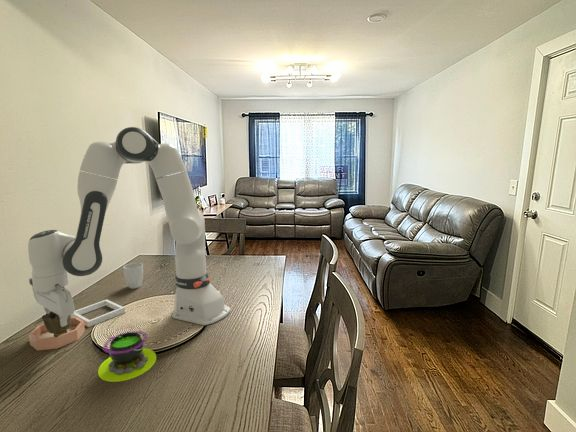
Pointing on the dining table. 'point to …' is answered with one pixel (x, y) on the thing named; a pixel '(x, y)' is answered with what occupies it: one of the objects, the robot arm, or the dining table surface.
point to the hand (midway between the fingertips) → (57, 321)
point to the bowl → (47, 341)
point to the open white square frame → (89, 323)
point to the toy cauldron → (126, 357)
